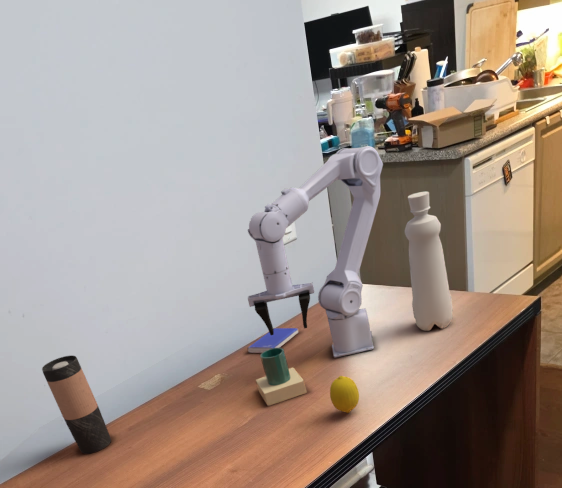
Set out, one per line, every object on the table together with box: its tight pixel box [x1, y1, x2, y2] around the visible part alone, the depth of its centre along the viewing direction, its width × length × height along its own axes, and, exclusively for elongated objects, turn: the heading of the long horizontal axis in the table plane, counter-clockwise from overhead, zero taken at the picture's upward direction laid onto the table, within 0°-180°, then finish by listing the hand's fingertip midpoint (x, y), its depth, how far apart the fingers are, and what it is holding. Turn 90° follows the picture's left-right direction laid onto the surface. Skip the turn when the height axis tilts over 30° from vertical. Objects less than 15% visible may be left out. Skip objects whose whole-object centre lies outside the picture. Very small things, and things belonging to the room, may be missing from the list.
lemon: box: [329, 375, 360, 414], centre depth 127 cm, size 6×6×8 cm
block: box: [255, 367, 308, 407], centre depth 144 cm, size 9×9×3 cm
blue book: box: [247, 327, 299, 354], centre depth 172 cm, size 2×8×12 cm
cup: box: [259, 347, 291, 385], centre depth 141 cm, size 5×5×6 cm
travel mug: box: [41, 355, 112, 455], centre depth 139 cm, size 8×8×20 cm
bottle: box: [404, 191, 454, 332], centre depth 149 cm, size 9×9×30 cm
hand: (288, 330), depth 147 cm, fingers open, 7 cm apart
